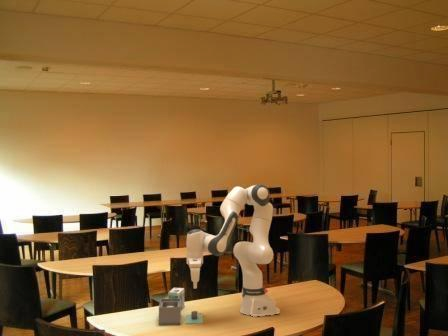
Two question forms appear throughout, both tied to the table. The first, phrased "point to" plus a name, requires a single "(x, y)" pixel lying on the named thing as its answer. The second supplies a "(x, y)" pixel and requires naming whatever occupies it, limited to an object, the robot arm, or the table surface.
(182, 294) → the light bulb box
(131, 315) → the table surface
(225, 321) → the table surface
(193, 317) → the lid
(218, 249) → the robot arm
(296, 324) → the table surface
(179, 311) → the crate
